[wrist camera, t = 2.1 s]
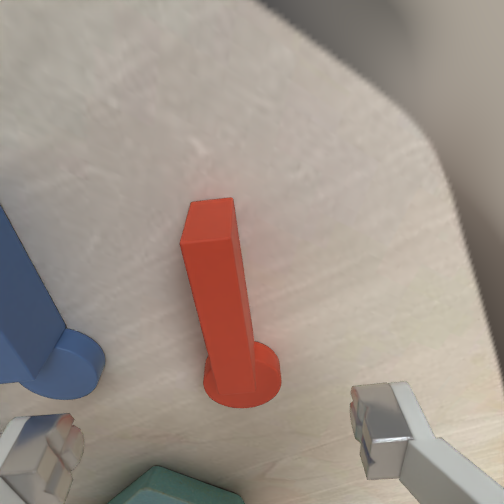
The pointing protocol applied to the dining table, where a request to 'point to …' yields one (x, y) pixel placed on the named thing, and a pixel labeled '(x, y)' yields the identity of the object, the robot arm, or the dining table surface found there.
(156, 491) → the shallow long dish
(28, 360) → the spoon blue
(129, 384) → the dining table surface
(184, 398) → the dining table surface
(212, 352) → the red bar with disc
